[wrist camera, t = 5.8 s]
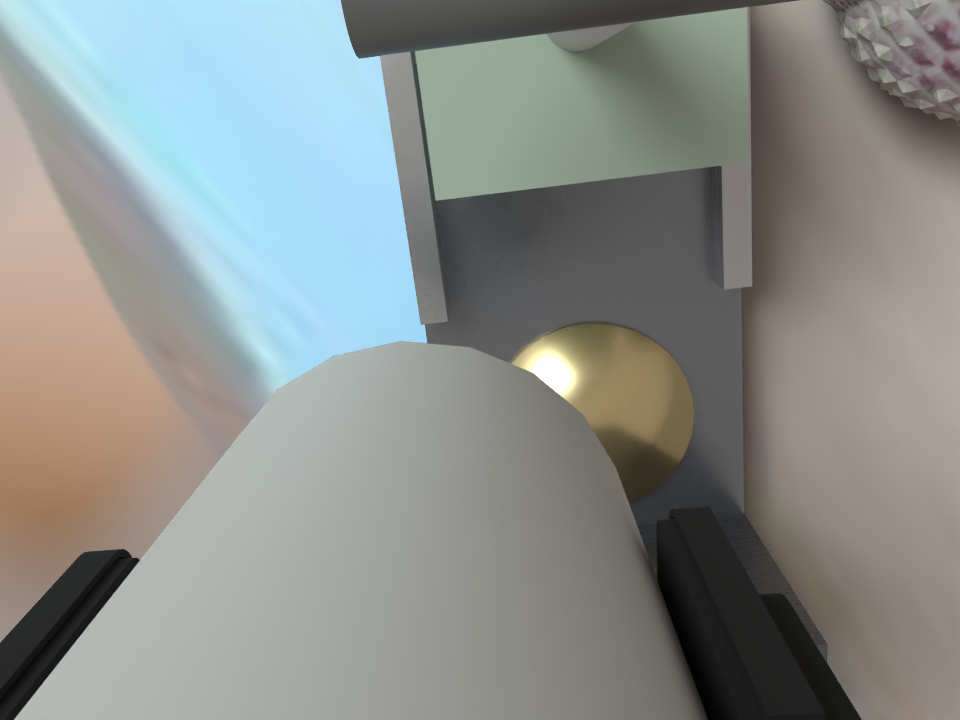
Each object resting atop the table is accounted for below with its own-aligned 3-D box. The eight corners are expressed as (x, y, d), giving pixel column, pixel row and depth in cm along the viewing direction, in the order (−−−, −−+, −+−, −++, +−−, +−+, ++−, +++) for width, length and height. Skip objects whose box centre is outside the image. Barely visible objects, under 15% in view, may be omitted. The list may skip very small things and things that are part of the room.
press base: (723, -72, 26) (850, -171, 17) (734, 575, 34) (824, 744, 25) (377, -25, 26) (319, -96, 17) (470, 601, 34) (464, 775, 25)
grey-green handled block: (711, -41, 24) (943, -197, 12) (715, 150, 26) (919, 187, 14) (404, 1, 25) (323, -108, 12) (430, 186, 27) (382, 252, 14)
